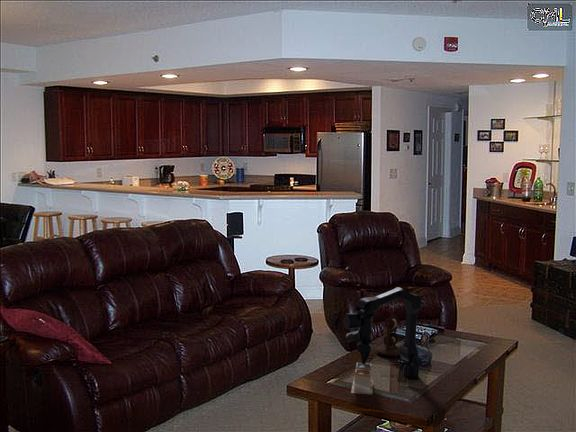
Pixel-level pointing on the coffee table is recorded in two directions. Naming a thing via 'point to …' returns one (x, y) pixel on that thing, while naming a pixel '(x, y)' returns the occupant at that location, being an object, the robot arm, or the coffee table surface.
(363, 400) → the coffee table surface
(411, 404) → the coffee table surface
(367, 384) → the box
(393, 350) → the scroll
